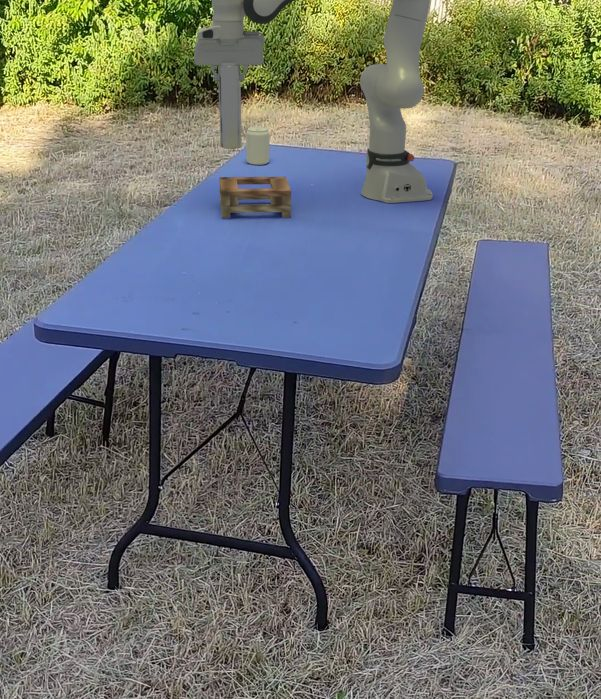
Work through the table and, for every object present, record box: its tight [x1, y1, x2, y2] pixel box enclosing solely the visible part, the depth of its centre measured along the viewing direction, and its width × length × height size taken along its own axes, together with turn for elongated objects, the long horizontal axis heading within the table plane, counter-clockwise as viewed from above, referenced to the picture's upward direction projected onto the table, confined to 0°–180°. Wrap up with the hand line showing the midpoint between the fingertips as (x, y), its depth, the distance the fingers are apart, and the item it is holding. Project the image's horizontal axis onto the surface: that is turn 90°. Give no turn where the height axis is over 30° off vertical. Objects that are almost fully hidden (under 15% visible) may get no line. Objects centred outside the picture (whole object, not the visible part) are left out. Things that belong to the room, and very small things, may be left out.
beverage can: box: [245, 126, 270, 166], centre depth 300 cm, size 8×8×12 cm
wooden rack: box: [218, 176, 292, 219], centre depth 252 cm, size 20×15×8 cm
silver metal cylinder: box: [217, 62, 243, 150], centre depth 254 cm, size 6×6×25 cm
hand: (229, 81), depth 251 cm, fingers closed on silver metal cylinder, 6 cm apart
